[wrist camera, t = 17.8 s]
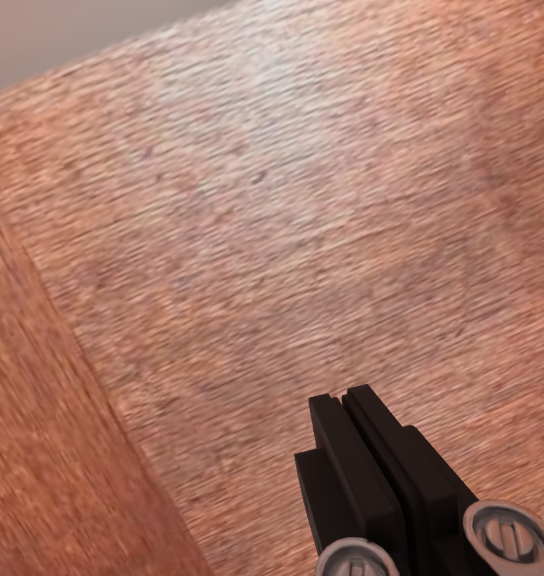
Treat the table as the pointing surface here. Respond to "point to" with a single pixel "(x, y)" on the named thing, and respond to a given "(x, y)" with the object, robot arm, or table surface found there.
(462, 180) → the table surface
